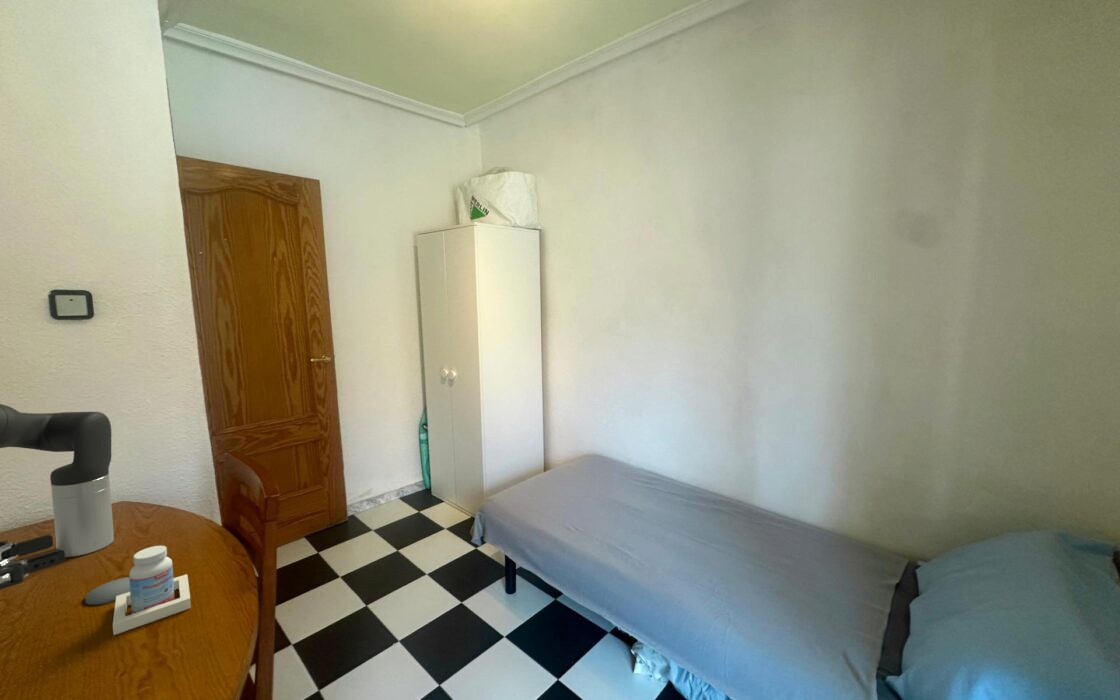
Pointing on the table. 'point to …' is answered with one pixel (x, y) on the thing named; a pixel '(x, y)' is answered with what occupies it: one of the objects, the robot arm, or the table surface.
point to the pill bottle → (151, 579)
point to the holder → (151, 614)
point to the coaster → (108, 592)
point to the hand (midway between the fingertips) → (58, 547)
